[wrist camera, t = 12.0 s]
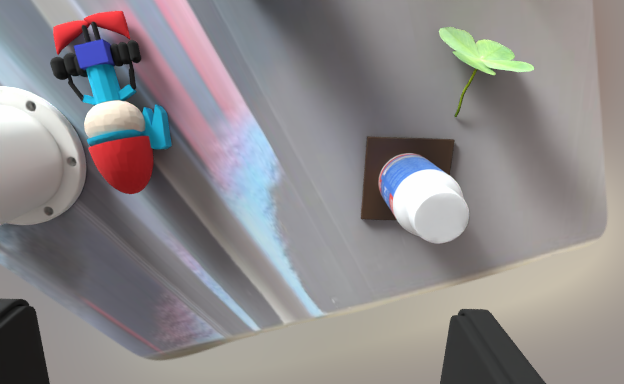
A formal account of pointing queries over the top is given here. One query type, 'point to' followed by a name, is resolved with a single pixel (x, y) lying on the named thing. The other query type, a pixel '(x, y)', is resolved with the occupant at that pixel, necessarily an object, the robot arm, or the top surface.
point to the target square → (385, 150)
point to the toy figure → (112, 102)
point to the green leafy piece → (481, 54)
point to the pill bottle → (423, 198)
